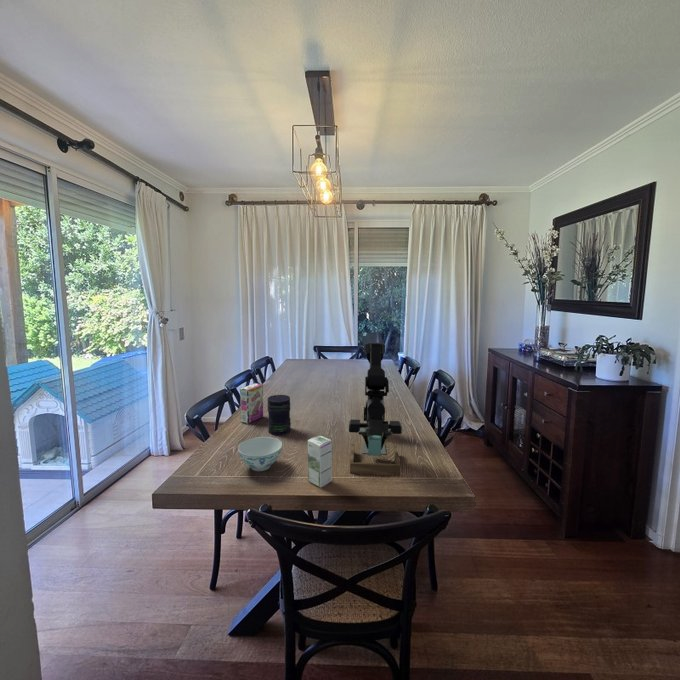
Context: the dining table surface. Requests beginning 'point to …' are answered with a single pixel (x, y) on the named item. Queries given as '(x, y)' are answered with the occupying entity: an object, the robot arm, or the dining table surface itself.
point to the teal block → (374, 445)
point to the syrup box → (319, 461)
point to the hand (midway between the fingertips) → (374, 448)
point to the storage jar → (279, 414)
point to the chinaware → (260, 452)
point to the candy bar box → (251, 403)
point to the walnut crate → (375, 466)
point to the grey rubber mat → (365, 450)
